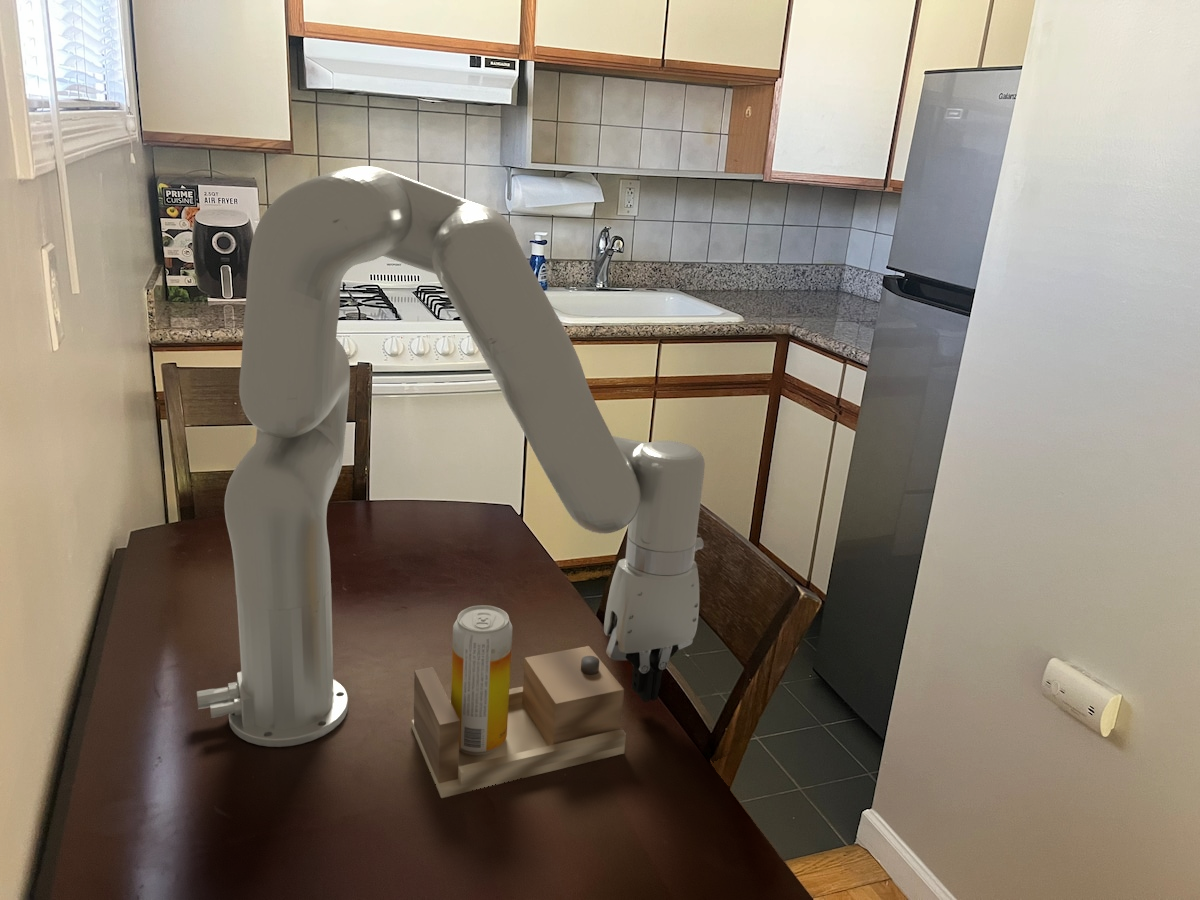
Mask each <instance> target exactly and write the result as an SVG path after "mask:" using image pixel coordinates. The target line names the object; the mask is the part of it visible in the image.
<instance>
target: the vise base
mask: <svg viewBox="0 0 1200 900" xmlns="http://www.w3.org/2000/svg"><path fill="white" fill-rule="evenodd" d="M413 672H414V675H413V676H414V682H413V683H414V684H413V686H414V687H413V690H414V691H413V693H414V695H413V719H411V729H412V731H413V734H414V736H415V739H416V742H417V744H418V746H419V749H420V751H421V753H422V756H423V758H424V760H425V763H426V766H427V768H428V769H429V770H428V771H429V773H430V772H431V773H430V775H431V777H432V779H433V782H434V784H436V785H435V787H436V789H437V791H438V794H439V796H440V798H441V799H444V798H448V797H451V796H452V797H453V796H456V795H461V794H464V793H467V792H468V793H469V792H472V790H473V791H476V789H477V790H480V788H481V789H485V788H487V787H488V786H489V787H493V786H497V785H501V784H504V782H505V783H508V781H509V782H514V781H517V779H518V780H521V779H520V778H522V779H525V778H530V777H534V776H537V775H541V774H545V773H550V772H553V771H554V772H555V771H558V770H562V769H566V768H571V767H573V766H578V765H582V764H587V763H590V762H594V761H595V762H596V761H599V760H604V759H607V758H610V757H611V758H612V757H615V756H618V755H619V756H620V755H624V754H625V749H626V739H627V733H626V732H625V731H624V730H623V728H620V729H619V730H615V731H610V732H606V733H602V734H597V735H593V736H589V737H585V738H580V739H576V740H572V741H567V742H563V743H559V744H554V745H550V746H549V745H548V744H547V742H546V740H545V739H544V737H543V736H542V734H541V732H540V731H539V729H538V727H537V726H536V724H535V723H534V721H533V719H532V718H531V716H530V715H529V713H528V711H527V710H526V708H525V707H524V705H523V703H522V697H523V685H522V686H518V687H512V688H509V704H508V723H507V737H506V739H505V741H504V742H503V743H502V744H501V745H500V746H499V747H498V749H496V750H495V751H493V752H491V753H489V754H485V755H470V754H467V753H464V752H462V751H461V750H459V729H460V720H459V718H458V716H457V714H456V712H455V710H454V708H453V706H452V704H451V699H449V696H448V694H447V693H446V690H445V688H444V686H443V684H442V682H441V681H440V678H439V677H438V674H437V672H436V670H435V669H434V667H433V666H430V667H424V668H419V669H414V670H413ZM513 780H514V781H513ZM495 784H496V785H495ZM492 785H493V786H492ZM484 787H485V788H484ZM489 787H488V788H489Z"/></svg>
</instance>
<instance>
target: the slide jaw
mask: <svg viewBox="0 0 1200 900" xmlns="http://www.w3.org/2000/svg"><path fill="white" fill-rule="evenodd" d="M523 663H524V666H523V680H522V681H523V682H522V686H523V697H522V703H523V705H524V707H525V708H526V710H527V711H528V713H529V715H530V716H531V718H532V719H533V721H534V723H535V724H536V726H537V727H538V729H539V731H540V732H541V734H542V736H543V737H544V739H545V740H546V742H547V744H548V745H549V746H550V745H554V744H559V743H563V742H567V741H572V740H576V739H580V738H585V737H589V736H593V735H597V734H602V733H606V732H610V731H615V730H619V729H621V723H622V713H623V703H624V693H625V688H624V687H623V686H622V685H621V683H619V681H618V680H617V679H616V678H615V676H614V675H613V673H611V672H610V670H609V669H608V667H606V665H605V664H604V662H602V660H601V659H600V658H599V656H598V655H597V654H596V653H595V652H594V651H593V649H592V648H591V647H590V646H589V645H585V646H582V647H581V646H579V647H575V648H571V649H566V650H565V649H564V650H559V651H554V652H548V653H544V654H543V653H542V654H538V655H531V656H527V657H524V662H523Z"/></svg>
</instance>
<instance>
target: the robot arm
mask: <svg viewBox="0 0 1200 900" xmlns="http://www.w3.org/2000/svg"><path fill="white" fill-rule="evenodd" d="M248 255H249V257H248V264H247V265H248V266H247V267H248V268H247V279H246V280H247V281H246V295H245V297H246V298H245V307H244V313H243V314H244V316H243V327H242V328H243V332H242V333H243V334H242V346H241V347H242V349H241V350H242V351H241V361H240V362H241V364H240V372H239V382H238V383H239V385H238V387H239V388H238V392H239V393H238V394H239V399H240V404H241V407H242V409H243V412H244V415H245V416H246V418H247V419H248V421H249V422H250V423H251V425H253V426H254V427H255V428H256V438H255V442H254V445H252V446H251V448H250V449H249V450H247V452H246V453H245V455H244V456H243V457H242V459H241V460H240V461H239V462H238V463H237V465H236V467H235V468H234V470H233V472H232V474H231V476H230V478H229V480H228V483H227V485H226V489H225V490H226V491H225V495H224V505H223V507H224V516H225V523H226V527H227V532H228V536H229V540H230V544H231V550H232V551H231V552H232V559H233V569H234V581H235V582H234V583H235V595H236V606H237V624H238V639H239V655H240V656H239V657H240V671H238V672H237V673H236V675H237V681H234V682H229V683H227V686H224V687H218V688H209V689H203V690H196V697H197V698H196V699H197V708H198V709H197V710H202V709H203V710H204V709H207V708H210V718H211V719H215V718H218V717H224V716H225V715H226V716H228V722H229V727H230V729H231V730H232V732H233V733H234V734H235V735H236V736H237V737H238V738H240V739H242V740H244V741H246V742H247V743H251V744H254V745H257V746H263V747H269V748H270V747H271V748H273V747H274V748H275V747H276V748H282V747H293V746H298V745H302V744H306V743H309V742H312V741H314V740H317V739H320V738H321V737H323V736H325V735H327V734H328V733H330V732H331V731H333V730H334V729H335V728H337V726H339V725H340V724H341V723H342V722H343V720H344V719H345V718H346V715H347V713H348V710H349V696H348V693H347V690H346V688H345V687H344V686H343V685H342V684H341V683H340V682H338V681H337V680H336V679H334V656H333V655H334V654H333V651H334V648H333V612H332V611H333V610H332V609H333V608H332V605H333V604H332V603H333V602H332V583H331V582H332V581H331V578H332V575H331V574H332V573H331V572H332V571H331V556H330V555H331V554H330V545H329V536H328V529H327V513H328V505H329V501H330V499H331V497H332V494H333V491H334V489H335V487H336V484H337V482H338V479H339V477H340V474H341V470H342V467H343V460H344V454H345V453H344V451H345V442H346V441H345V439H346V432H347V431H346V429H347V419H348V418H347V417H348V410H349V409H348V408H349V407H348V405H349V397H350V386H351V385H350V384H351V367H350V361H349V358H348V355H347V352H346V350H345V348H344V346H343V345H342V343H341V342H340V341H339V340H338V338H337V336H338V335H337V332H338V324H339V323H338V322H339V315H340V307H341V305H340V304H341V285H342V284H341V283H342V280H343V278H344V276H345V275H346V274H347V272H348V271H349V270H350V269H351V268H353V267H354V266H357V265H360V264H364V263H367V262H368V263H369V262H371V261H374V260H377V259H379V258H381V257H385V258H388V259H391V260H393V261H397V262H400V263H401V264H404V265H408V266H411V267H412V268H413V267H414V268H416V269H419V270H423V271H426V272H428V273H431V274H435V275H436V277H437V280H438V281H439V283H440V285H441V287H442V289H443V291H444V292H445V294H446V296H447V297H448V299H449V301H450V303H451V304H452V306H453V308H454V309H455V311H456V314H457V315H458V316H459V318H460V320H461V321H462V323H463V325H464V326H465V328H466V330H467V331H468V333H469V335H470V337H471V339H472V340H473V342H474V344H475V346H476V347H477V348H478V351H479V352H480V354H481V356H482V358H483V360H484V362H485V363H486V365H487V366H488V368H489V370H490V372H491V374H492V376H493V378H494V380H495V381H496V384H497V385H498V387H499V388H500V391H501V393H502V396H503V397H504V399H505V402H506V404H507V405H508V407H509V409H510V411H511V412H512V414H513V416H514V418H515V419H516V421H517V423H518V424H519V426H520V428H521V430H522V432H523V434H524V435H525V436H524V437H525V438H526V440H527V442H528V444H529V446H530V447H531V449H532V452H533V453H534V456H535V457H536V458H537V461H538V462H539V463H538V464H540V466H541V468H542V470H543V472H544V474H545V476H546V478H547V479H548V481H549V482H550V484H551V486H552V488H553V489H554V490H555V493H556V495H557V496H558V498H559V500H560V501H561V503H562V504H563V507H564V508H565V510H566V512H567V513H568V515H569V516H570V517H571V518H572V520H573V521H574V522H575V523H577V525H578V526H580V527H581V528H583V529H585V530H587V531H589V532H591V533H596V534H600V535H601V534H604V535H605V534H606V535H607V534H612V533H615V532H618V531H620V530H622V529H624V528H625V527H627V526H628V527H627V537H626V538H627V540H626V548H625V549H626V550H625V558H622V559H619V560H618V562H617V564H616V566H615V570H614V573H613V576H612V580H611V583H610V587H609V593H608V597H607V602H606V607H605V608H606V609H605V614H604V623H603V633H604V634H605V636H606V637H610V638H609V641H608V644H607V647H606V649H605V653H606V655H607V656H608V657H609V658H610V660H612V661H618V662H619V661H624V662H625V661H628V662H629V663H630V664H631V665H633V667H632V678H631V688H632V690H633V692H634V693H635V694H637V696H638V697H639V698H640V699H641V700H642V702H643V703H649V702H650V701H653V702H654V701H657V700H659V690H660V688H661V686H662V676H663V675H662V674H663V670H665V669H667V668H668V664H669V661H670V659H671V658H672V657H673V656H674V655H675V654H676V653H677V652H678V650H679V651H680V650H682V649H684V648H686V647H688V646H691V645H692V644H693V641H694V638H695V636H696V633H697V628H698V625H699V611H700V579H699V577H700V576H699V570H698V565H697V562H696V561H695V557H696V556H695V555H696V552H697V551H698V550H703V549H704V545H705V544H704V540H703V538H702V537H698V536H697V535H698V527H699V518H700V517H699V516H700V511H701V510H700V509H701V501H702V500H701V499H702V492H703V485H704V478H705V468H706V467H705V464H706V463H705V459H704V456H703V454H702V453H701V452H700V451H699V450H698V449H697V448H696V447H695V446H692V445H690V444H687V443H684V442H679V441H676V440H675V441H673V440H656V441H655V440H654V441H651V442H646V441H639V440H634V439H629V438H624V437H619V436H616V435H612V433H611V431H610V429H609V427H608V425H607V423H606V422H605V420H604V417H603V416H602V414H601V411H600V409H599V407H598V405H597V403H596V401H595V399H594V396H593V394H592V392H591V389H590V387H589V383H588V382H587V379H586V375H585V372H584V369H583V367H582V366H583V365H582V364H581V361H580V359H579V356H578V354H577V351H576V349H575V347H574V345H573V343H572V340H571V339H570V336H569V335H568V333H567V331H566V329H565V327H564V326H563V324H562V322H561V320H560V318H559V317H558V314H557V313H556V311H555V308H554V307H553V305H552V303H551V301H550V299H548V295H547V294H546V292H545V291H544V289H543V287H542V285H541V282H540V281H539V279H538V278H537V275H536V274H535V271H534V270H533V268H532V266H531V265H530V263H529V260H528V258H527V256H526V254H525V253H524V250H523V249H522V247H521V245H520V243H519V241H518V239H517V235H516V232H515V230H514V227H512V224H511V223H510V222H509V221H508V219H506V217H505V216H504V215H502V213H500V212H498V211H497V210H495V209H493V208H491V207H488V206H486V205H483V204H480V203H477V202H473V201H470V200H468V199H466V198H462V197H459V196H456V195H454V194H451V193H448V192H445V191H442V190H440V189H437V188H435V187H433V186H430V185H427V184H424V183H422V182H419V181H417V180H414V179H410V178H408V177H405V176H403V175H400V174H398V173H395V172H392V171H390V170H386V169H384V168H381V167H377V166H368V165H358V166H353V167H346V168H342V169H338V170H335V171H334V170H333V171H331V172H330V171H329V172H327V173H325V174H321V175H318V176H316V177H313V178H311V179H308V180H305V181H304V182H300V183H299V184H297V185H295V186H293V187H291V188H290V189H288V190H286V191H285V192H283V193H282V194H280V195H279V196H278V197H277V198H276V199H275V200H274V201H273V202H272V203H271V204H270V205H269V207H268V208H267V209H266V210H265V212H264V213H263V215H262V216H261V218H260V220H259V221H258V223H257V226H256V228H255V230H254V233H253V236H252V240H251V244H250V249H249V254H248Z"/></svg>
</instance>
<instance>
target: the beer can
mask: <svg viewBox="0 0 1200 900" xmlns="http://www.w3.org/2000/svg"><path fill="white" fill-rule="evenodd" d="M513 630H514V629H513V625H512V623H511V621H510V617H509V614H508V613H507V611H505V610H503V609H501V608H499V607H497V606H493V605H486V604H485V605H483V604H482V605H473V606H469V607H467V608H465V609H463V610H461V611H460V612H459V613H458V615H457V619H456V620H455V622H454V623H453V626H452V648H451V649H452V653H451V686H450V687H451V688H450V691H451V692H450V701H451V704H452V706H453V708H454V710H455V712H456V714H457V716H458V718H459V720H460V729H459V750H461V751H462V752H464V753H467V754H470V755H485V754H489V753H491V752H493V751H495V750H496V749H498V747H499V746H500V745H501V744H502V743H503V742H504V741H505V739H506V737H507V723H508V704H509V689H510V686H511V685H510V683H511V682H510V681H511V664H512V663H511V662H512V648H513V647H512V644H513Z"/></svg>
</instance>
